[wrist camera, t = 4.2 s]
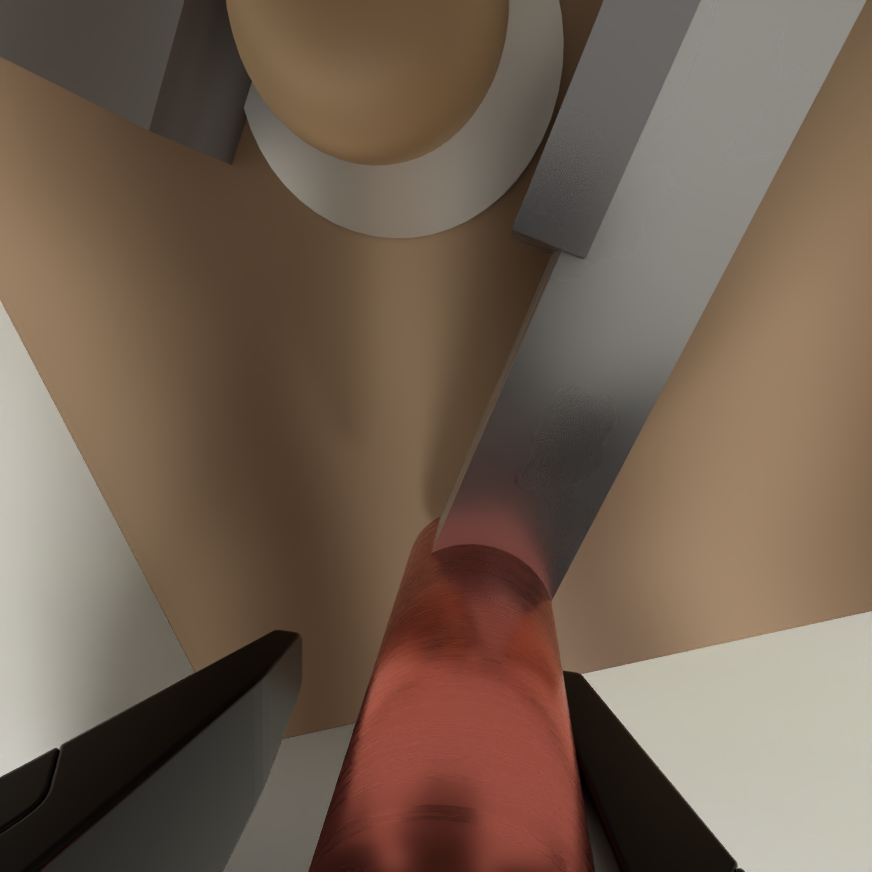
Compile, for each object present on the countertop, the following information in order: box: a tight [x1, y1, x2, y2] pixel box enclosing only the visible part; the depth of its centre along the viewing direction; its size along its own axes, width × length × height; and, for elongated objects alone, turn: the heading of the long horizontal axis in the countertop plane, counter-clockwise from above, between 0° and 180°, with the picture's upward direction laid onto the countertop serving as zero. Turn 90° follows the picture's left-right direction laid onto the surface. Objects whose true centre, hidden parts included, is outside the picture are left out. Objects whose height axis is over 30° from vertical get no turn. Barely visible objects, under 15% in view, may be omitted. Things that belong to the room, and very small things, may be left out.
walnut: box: [226, 0, 509, 166], centre depth 7 cm, size 4×4×4 cm
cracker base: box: [0, 0, 872, 739], centre depth 9 cm, size 20×17×4 cm
